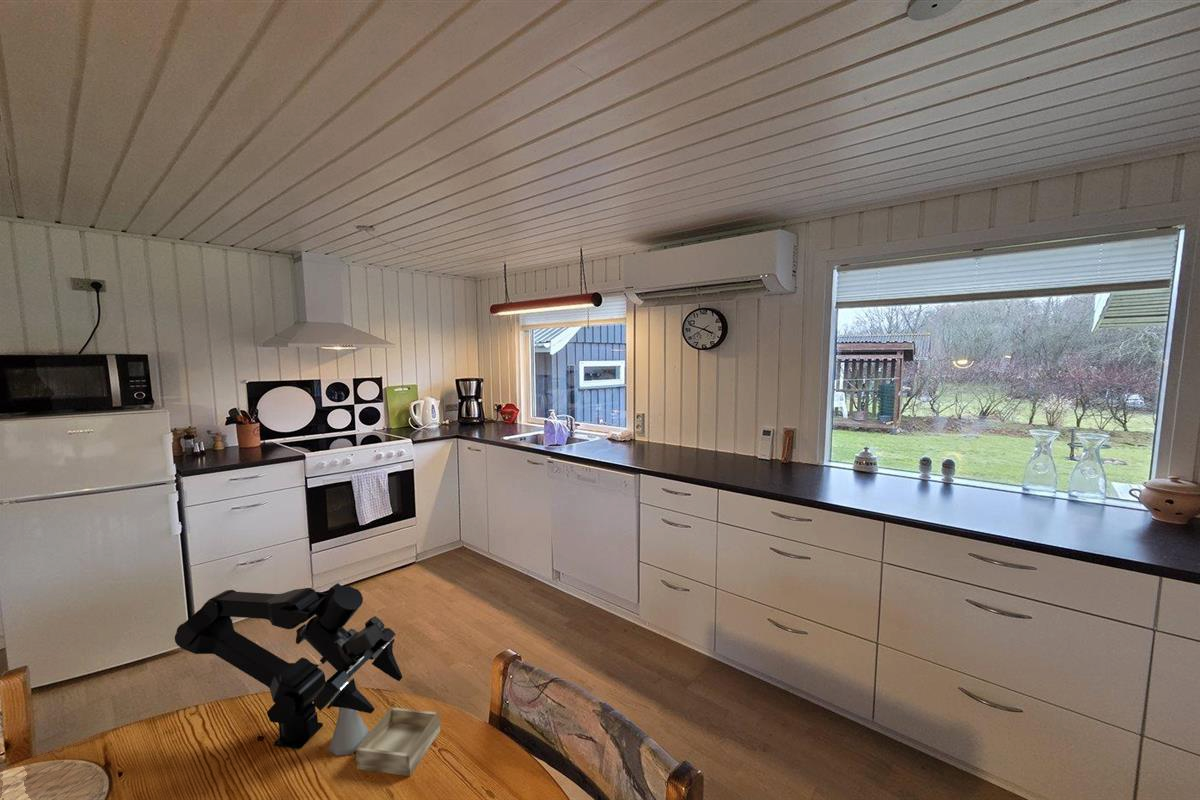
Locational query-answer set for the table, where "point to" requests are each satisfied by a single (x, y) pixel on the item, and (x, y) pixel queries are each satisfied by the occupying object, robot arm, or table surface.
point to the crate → (398, 741)
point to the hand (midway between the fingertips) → (387, 694)
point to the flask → (348, 732)
